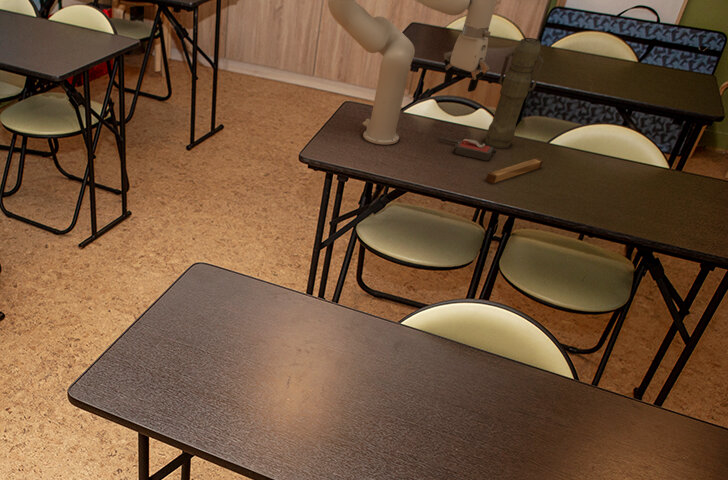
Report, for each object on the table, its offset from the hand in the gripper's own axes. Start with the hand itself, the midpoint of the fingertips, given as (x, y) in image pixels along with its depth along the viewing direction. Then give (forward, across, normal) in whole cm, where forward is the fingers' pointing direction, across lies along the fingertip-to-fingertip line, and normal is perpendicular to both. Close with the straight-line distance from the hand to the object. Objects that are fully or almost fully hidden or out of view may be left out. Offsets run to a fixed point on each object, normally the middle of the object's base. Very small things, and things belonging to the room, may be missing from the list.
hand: (459, 86), depth 228 cm
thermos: (+21, -8, -21) cm, 31 cm away
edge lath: (+21, -27, -4) cm, 34 cm away
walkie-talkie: (+22, -6, -5) cm, 23 cm away
